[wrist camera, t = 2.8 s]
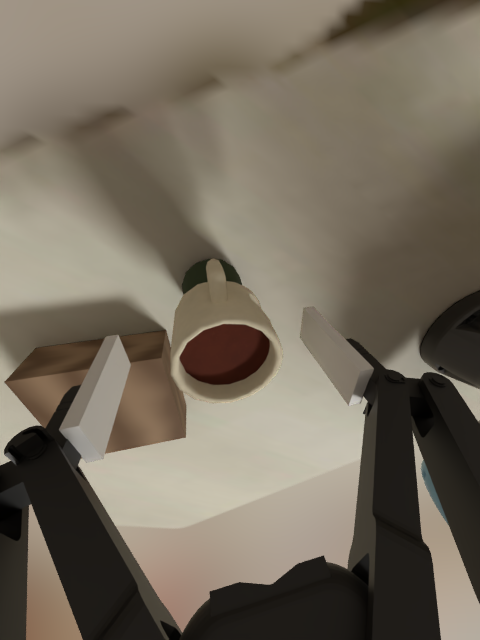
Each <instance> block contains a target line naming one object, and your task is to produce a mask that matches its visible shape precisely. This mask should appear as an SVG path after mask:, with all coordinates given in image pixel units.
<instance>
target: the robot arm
mask: <svg viewBox="0 0 480 640" xmlns="http://www.w3.org/2000/svg"><path fill="white" fill-rule="evenodd" d="M300 338H301V340H302V341H303V342H304V344H305V345H306V347H307V348H308V349H309V351H310V352H311V354H312V355H313V356H314V358H315V359H316V361H317V362H318V364H319V365H320V366H321V368H322V369H323V371H324V372H325V373H326V375H327V376H328V378H329V379H330V380H331V382H332V383H333V385H334V386H335V387H336V389H337V390H338V392H339V393H340V394H341V396H342V397H343V399H344V400H345V401H346V403H347V404H348V406H350V405H354V404H359V403H361V401H362V398H363V396H364V397H365V399H366V400H367V401H368V402H367V405H366V407H365V410H364V412H363V414H365V413H366V414H365V424H364V434H363V445H362V455H361V465H360V477H359V486H358V496H357V506H356V517H355V527H354V536H353V542H352V546H351V550H350V554H349V560H348V569H346V568H344V567H341V566H339V565H337V564H333V563H328V562H326V560H325V558H324V556H321V557H318V558H314V559H312V560H308V561H305V562H302V563H299V564H297V565H295V566H294V567H293V568H292V569H291V570H289V571H288V572H287V573H286V574H284V575H283V576H282V577H281V578H279V579H278V580H277V581H276V582H275V583H274V584H271V585H264V584H253V583H241V582H239V583H236V584H232V585H229V586H226V587H223V588H220V589H217V590H213V591H210V599H209V600H208V601H206V602H205V603H204V604H203V605H202V606H201V607H200V608H199V609H198V610H197V612H196V613H195V614H194V615H193V617H192V618H191V620H190V621H189V623H188V624H187V626H186V628H185V629H184V632H183V633H182V632H181V630H180V628H179V627H178V625H177V624H176V622H175V620H174V619H173V617H172V616H171V614H170V613H169V611H168V610H167V608H166V607H165V606H164V604H163V603H162V602H161V600H160V599H159V597H158V596H157V594H156V592H155V591H154V589H153V588H152V586H151V584H150V583H149V581H148V579H147V578H146V576H145V574H144V573H143V571H142V570H141V568H140V566H139V564H138V563H137V561H136V560H135V558H134V556H133V555H132V553H131V552H130V550H129V548H128V546H127V545H126V543H125V542H124V540H123V538H122V536H121V535H120V533H119V531H118V530H117V528H116V526H115V525H114V523H113V522H112V520H111V518H110V517H109V515H108V513H107V512H106V510H105V508H104V507H103V505H102V503H101V502H100V500H99V498H98V497H97V495H96V493H95V492H94V490H93V488H92V487H91V485H90V484H89V482H88V480H87V479H86V477H85V475H84V474H83V472H82V470H81V469H80V467H79V466H78V464H79V461H80V458H81V457H82V458H83V460H84V461H85V462H86V463H87V462H92V461H96V460H101V459H103V458H104V454H105V451H106V448H107V444H108V441H109V437H110V434H111V431H112V427H113V424H114V421H115V417H116V414H117V410H118V407H119V404H120V400H121V397H122V393H123V390H124V387H125V383H126V380H127V376H128V373H129V370H130V366H131V364H130V362H129V359H128V357H127V354H126V352H125V350H124V347H123V345H122V342H121V340H120V338H119V335H112V336H106V337H105V339H104V341H103V343H102V345H101V347H100V349H99V351H98V353H97V355H96V357H95V359H94V361H93V363H92V365H91V367H90V369H89V371H88V373H87V375H86V377H85V379H84V381H83V383H82V385H77V386H72V387H71V388H70V389H69V390H68V391H67V392H66V393H65V394H64V396H63V398H62V400H61V401H60V405H58V407H57V408H56V412H54V414H53V416H52V417H51V419H50V421H49V423H48V424H47V426H46V428H44V427H42V426H33V427H29V428H27V429H25V430H23V431H21V432H20V433H18V434H17V435H16V436H14V437H13V438H12V439H11V440H10V441H9V442H8V444H7V446H6V447H5V449H4V455H5V456H6V457H8V458H9V459H10V460H11V461H10V462H7V463H5V464H3V465H1V466H0V640H26V610H27V609H26V608H27V562H28V517H29V505H30V504H32V506H33V509H34V512H35V515H36V517H37V520H38V523H39V525H40V528H41V530H42V533H43V536H44V538H45V541H46V544H47V546H48V549H49V551H50V554H51V557H52V559H53V562H54V564H55V567H56V570H57V573H58V575H59V578H60V580H61V583H62V586H63V588H64V591H65V593H66V596H67V599H68V601H69V604H70V606H71V609H72V612H73V615H74V617H75V620H76V622H77V625H78V628H79V630H80V633H81V635H82V638H83V640H441V636H440V628H439V618H438V609H437V599H436V590H435V581H434V573H433V563H432V557H431V553H430V550H429V548H428V546H427V545H426V544H425V543H424V542H423V539H422V535H421V527H420V526H421V525H420V514H419V502H418V490H417V479H416V467H415V456H414V445H413V433H414V436H415V438H416V441H417V443H418V446H419V449H420V451H421V454H422V457H423V459H424V460H423V462H422V466H421V471H422V476H423V479H424V481H425V485H426V488H427V490H428V492H429V494H430V496H431V498H432V499H433V501H434V503H435V505H436V507H437V508H438V510H439V512H440V513H441V515H442V516H443V518H444V519H445V521H446V522H447V524H448V525H449V527H450V529H451V532H452V535H453V537H454V540H455V542H456V545H457V547H458V550H459V552H460V555H461V558H462V560H463V563H464V566H465V568H466V571H467V573H468V576H469V579H470V581H471V584H472V586H473V589H474V591H475V594H476V596H477V599H478V601H479V603H480V421H477V420H476V418H475V416H474V415H473V413H472V412H471V410H470V409H469V407H468V406H467V404H466V403H465V401H464V400H463V398H462V397H461V395H460V394H459V392H458V391H457V389H456V388H455V386H454V385H453V383H452V382H451V381H450V380H449V379H447V378H446V377H444V376H442V375H440V374H437V373H432V372H427V373H424V374H423V375H422V377H421V379H415V378H405V377H404V376H403V375H402V374H400V373H399V372H396V371H394V370H388V369H385V368H384V367H383V366H382V365H381V364H380V363H379V362H378V361H377V360H376V359H375V358H374V357H373V356H372V355H371V354H369V352H368V351H367V350H366V349H364V347H362V346H361V345H360V344H359V343H358V342H356V341H354V340H353V339H351V338H350V339H345V338H344V337H343V336H342V335H341V334H340V333H339V332H338V331H337V330H336V329H335V328H334V327H333V326H332V325H331V324H330V323H329V322H328V321H327V320H326V319H325V318H324V317H323V316H322V315H321V314H320V313H319V312H318V311H317V310H316V309H315V308H314V307H307V308H304V309H303V317H302V324H301V332H300ZM421 357H422V359H423V361H424V362H425V363H427V364H428V365H429V366H430V367H432V368H433V369H434V370H436V371H437V372H439V373H442V374H444V375H446V376H449V377H451V378H454V379H456V380H458V381H461V382H463V383H466V384H468V385H470V386H473V387H475V388H478V389H480V291H479V292H477V293H474V294H472V295H470V296H468V297H466V298H464V299H462V300H461V301H459V302H458V303H456V304H455V305H453V306H452V307H451V308H449V309H448V310H447V311H446V312H445V313H444V314H443V315H442V316H440V317H439V319H438V320H437V321H436V322H435V323H434V324H433V325H432V327H431V328H430V329H429V331H428V332H427V334H426V336H425V338H424V340H423V343H422V346H421ZM412 431H413V433H412Z"/></svg>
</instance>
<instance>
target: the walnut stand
mask: <svg viewBox="0 0 480 640" xmlns="http://www.w3.org/2000/svg"><path fill="white" fill-rule="evenodd" d="M119 338H120V340H121V342H122V345H123V347H124V350H125V352H126V354H127V357H128V359H129V362H130V364H131V366H130V370H129V373H128V376H127V380H126V383H125V387H124V390H123V393H122V397H121V400H120V404H119V407H118V410H117V414H116V417H115V421H114V424H113V427H112V431H111V434H110V437H109V441H108V444H107V448H106V451H105V454H106V453H111V452H116V451H121V450H126V449H131V448H135V447H140V446H145V445H150V444H155V443H160V442H165V441H170V440H175V439H180V438H185V437H186V403H185V399H184V395H183V392H182V391H181V390H179V388H178V386H177V385H176V383H175V382H174V380H173V378H172V377H171V347H170V343H169V339H168V336H167V332H166V330H163V331H156V332H149V333H142V334H134V335H127V336H120V337H119ZM103 341H104V339H98V340H91V341H84V342H76V343H69V344H62V345H55V346H47V347H40V348H35V349H34V351H33V352H32V353H31V354H30V355H29V356H28V357H27V358H26V359H25V360H24V361H23V362H22V364H21V365H20V366H19V367H18V368H17V369H16V370H15V371H14V372H13V373H12V374H11V375H10V377H9V378H8V379H7V380H6V381H5V383H6V384H7V386H8V387H9V388H10V389H11V390H12V391H13V393H14V394H15V395H16V396H17V397H18V398H19V399H20V401H21V402H22V403H23V404H24V405H25V406H26V408H27V409H28V410H29V411H30V412H31V413H32V415H33V416H34V417H35V418H36V419H37V420H38V421H39V423H40V424H41V425H42V426H43V427H44V428H46V426H47V424H48V423H49V421H50V419H51V417H52V416H53V414H54V412H56V408H57V407H58V405H60V401H61V400H62V398H63V396H64V394H65V393H66V392H67V391H68V390H69V389H70V388H71V387H72V386H77V385H82V383H83V381H84V379H85V377H86V375H87V373H88V371H89V369H90V367H91V365H92V363H93V361H94V359H95V357H96V355H97V353H98V351H99V349H100V347H101V345H102V343H103ZM81 458H82V457H81ZM81 458H80V459H81Z"/></svg>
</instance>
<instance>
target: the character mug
mask: <svg viewBox="0 0 480 640" xmlns="http://www.w3.org/2000/svg"><path fill="white" fill-rule="evenodd" d="M182 287H183V294H184V295H183V297H182V299H181V301H180V303H179V305H178V307H177V308H176V311H175V317H174V326H173V335H172V343H171V377H172V378H173V380H174V382H175V383H176V385H177V386H178V388H179V390H181V391H182V392H184V393H186V394H187V395H189V396H190V397H192V398H194V399H196V400H200V401H205V402H209V403H228V402H234V401H237V400H240V399H243V398H246V397H249V396H251V395H253V394H254V393H256V392H258V391H259V390H261V389H262V388H264V387H265V386H267V384H268V383H269V382H270V381H271V380H272V379H273V378H274V377H275V375H276V374H277V372H278V370H279V368H280V366H281V364H282V359H283V349H282V346H281V344H280V341H279V338H278V336H277V334H276V332H275V330H274V329H273V327H272V325H271V322H270V320H269V318H268V317H267V316H266V314H265V313H264V312H263V311H262V309H261V306H260V303H259V301H258V299H257V298H256V296H255V295H254V294H253V292H252V291H251V290H249V289H248V288H246V287H244V286H242V283H241V280H240V277H239V275H238V273H237V272H236V270H235V269H234V267H233V266H231V265H230V264H228V263H226V262H225V261H223V260H216V259H208V260H205V261H202V262H199V263H196V264H195V265H193V266H192V267H191V268H190V269H189V270H188V271H187V272H186V274H185V277H184V280H183V283H182Z"/></svg>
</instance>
